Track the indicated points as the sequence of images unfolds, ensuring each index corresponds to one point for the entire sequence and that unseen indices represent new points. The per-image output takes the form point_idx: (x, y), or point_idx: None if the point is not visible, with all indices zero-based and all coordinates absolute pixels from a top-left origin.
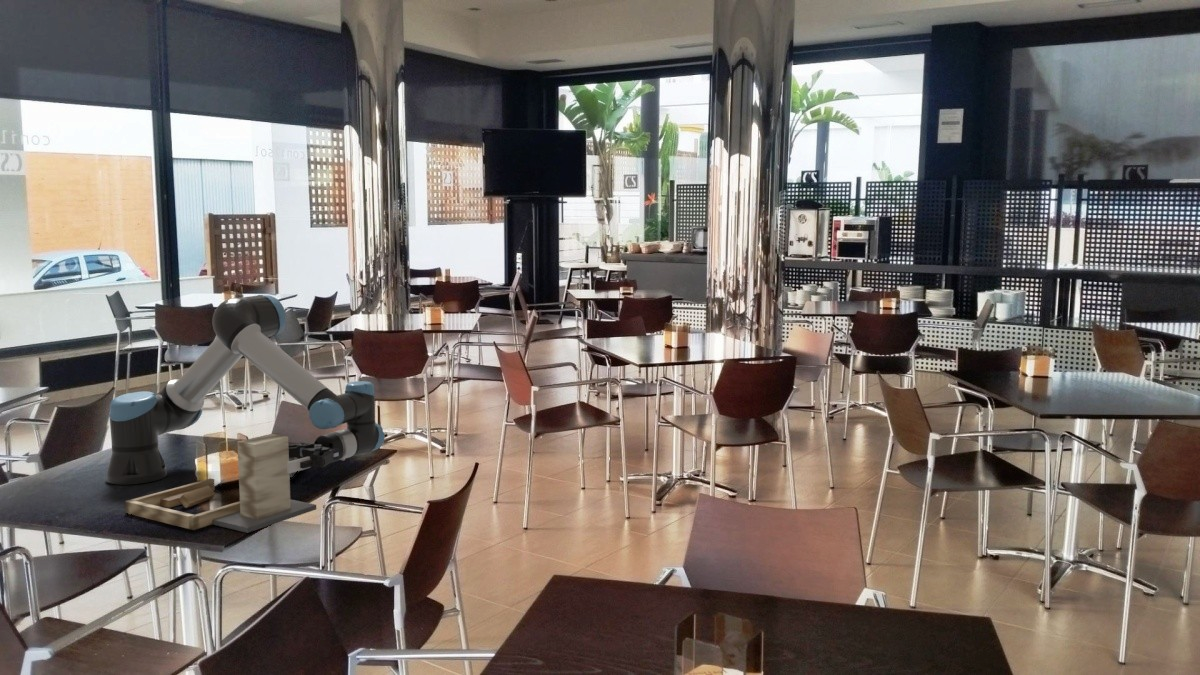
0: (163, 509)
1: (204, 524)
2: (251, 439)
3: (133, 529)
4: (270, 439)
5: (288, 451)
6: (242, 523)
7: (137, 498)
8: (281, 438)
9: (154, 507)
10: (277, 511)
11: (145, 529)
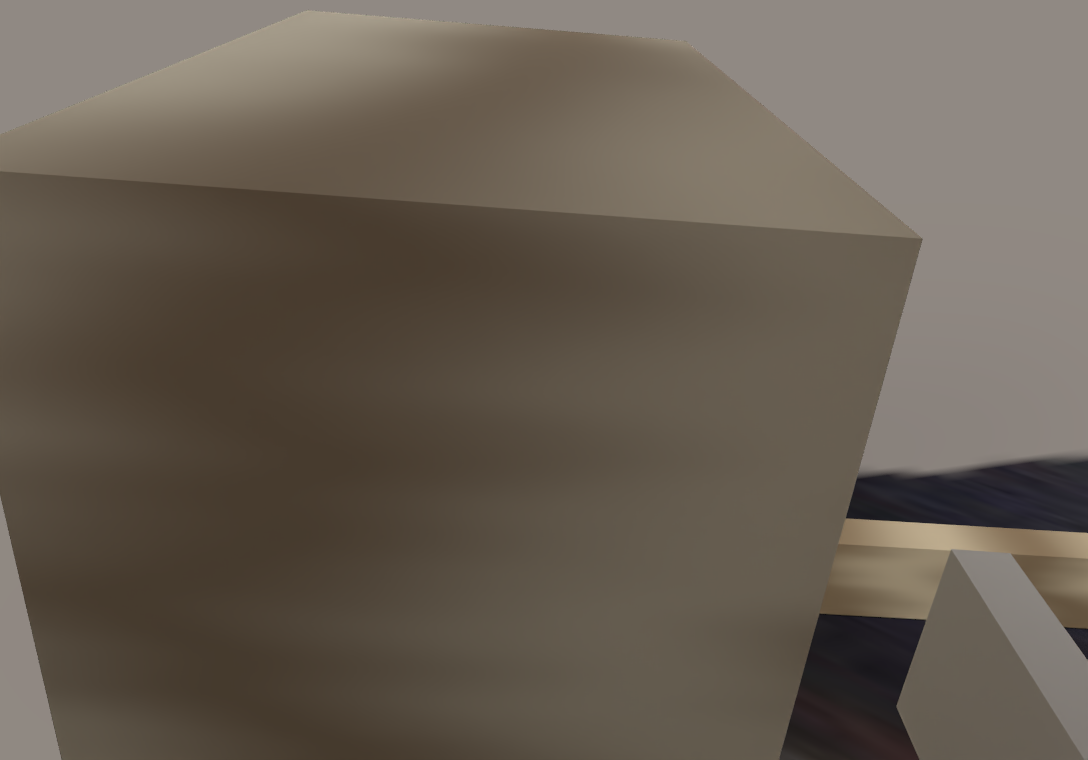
0: (995, 536)
1: None
2: (652, 67)
3: (921, 493)
4: (301, 71)
5: (37, 635)
6: None
7: None
8: (84, 112)
9: (1084, 539)
10: None
11: (878, 509)
